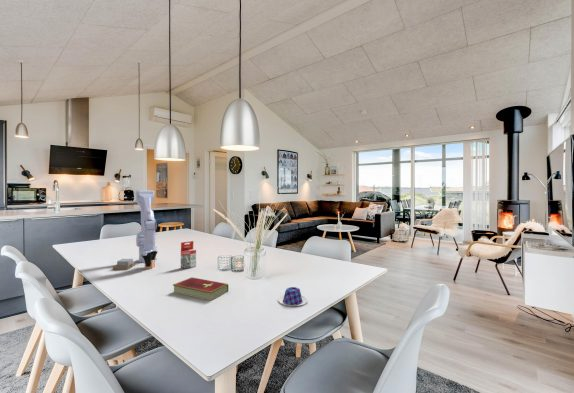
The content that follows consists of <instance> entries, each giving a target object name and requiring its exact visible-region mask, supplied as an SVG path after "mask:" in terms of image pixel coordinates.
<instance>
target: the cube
mask: <svg viewBox="0 0 574 393" xmlns="http://www.w3.org/2000/svg"><path fill="white" fill-rule="evenodd" d="M155 267H156V260H151V265H150V267H146V264H145V263H144V269H145V270H148V269H149V270H150V269H151V270H152V269H153V268H155Z"/></svg>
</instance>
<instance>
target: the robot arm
mask: <svg viewBox="0 0 574 393" xmlns="http://www.w3.org/2000/svg"><path fill="white" fill-rule="evenodd" d="M154 200H155V191H154V190H151V189H150V190H144V189H143V190H142V189H141V190H140V189H139V190H136V192H135V202H136V204H137V205H139V207H140V226H141V229H140V230H141V231H139V232H137V234H136V236H135V237H136V238H135V240H136V241H135V243H136V247H138V259H136V260H135V262H139V263H144V265H145V264H146V267H150V265H151V260H155V261H156V260H157V259H158V258H157V255H158V249H157V246H156V230H157V228H158V225H157V220H156V219H155V213H154V210H152V204H153V203H154Z"/></svg>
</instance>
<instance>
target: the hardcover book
mask: <svg viewBox="0 0 574 393" xmlns="http://www.w3.org/2000/svg"><path fill="white" fill-rule="evenodd" d="M172 286H173V293H175V294H181V295H184V296H189V297H192V298H197V299H203V300H206V301H207V300H208V301H213V300H214V299H216V298H218V297H219V296H222V295H223V294H225V293H227V292H229V283H224V282H219V281H213V280H208V279H203V278H197V277H189V278H186V279H184V280H181V281H178V282H176V283H173V284H172Z"/></svg>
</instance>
